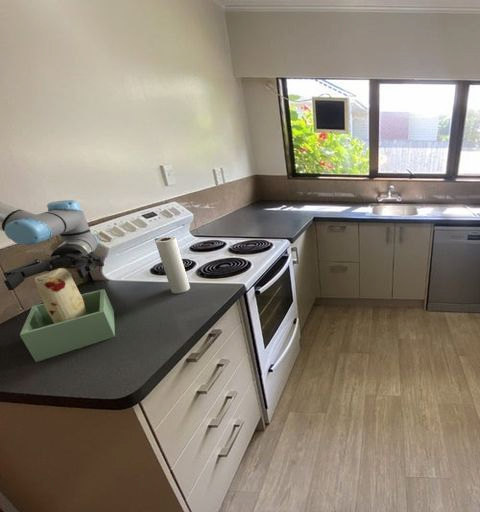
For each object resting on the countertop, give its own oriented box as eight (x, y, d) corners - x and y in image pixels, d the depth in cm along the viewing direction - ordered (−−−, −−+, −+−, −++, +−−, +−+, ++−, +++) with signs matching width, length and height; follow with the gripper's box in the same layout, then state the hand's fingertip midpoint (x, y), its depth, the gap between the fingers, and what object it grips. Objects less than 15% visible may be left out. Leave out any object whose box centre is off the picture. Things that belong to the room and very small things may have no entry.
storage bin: (45, 330, 89) (32, 306, 86) (114, 311, 99) (104, 288, 95) (35, 362, 77) (19, 334, 73) (114, 336, 86) (103, 311, 83)
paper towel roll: (191, 290, 113) (176, 239, 104) (173, 295, 109) (156, 242, 101) (188, 284, 118) (173, 234, 109) (170, 288, 114) (154, 237, 106)
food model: (83, 338, 84) (55, 277, 77) (53, 343, 82) (21, 281, 74) (98, 320, 93) (74, 263, 85) (71, 324, 90) (44, 266, 83)
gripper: (124, 257, 102) (111, 280, 85) (21, 272, 89) (-18, 304, 73) (117, 237, 99) (102, 257, 82) (9, 250, 87) (-34, 277, 70)
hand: (45, 279), depth 77 cm, fingers open, 13 cm apart
